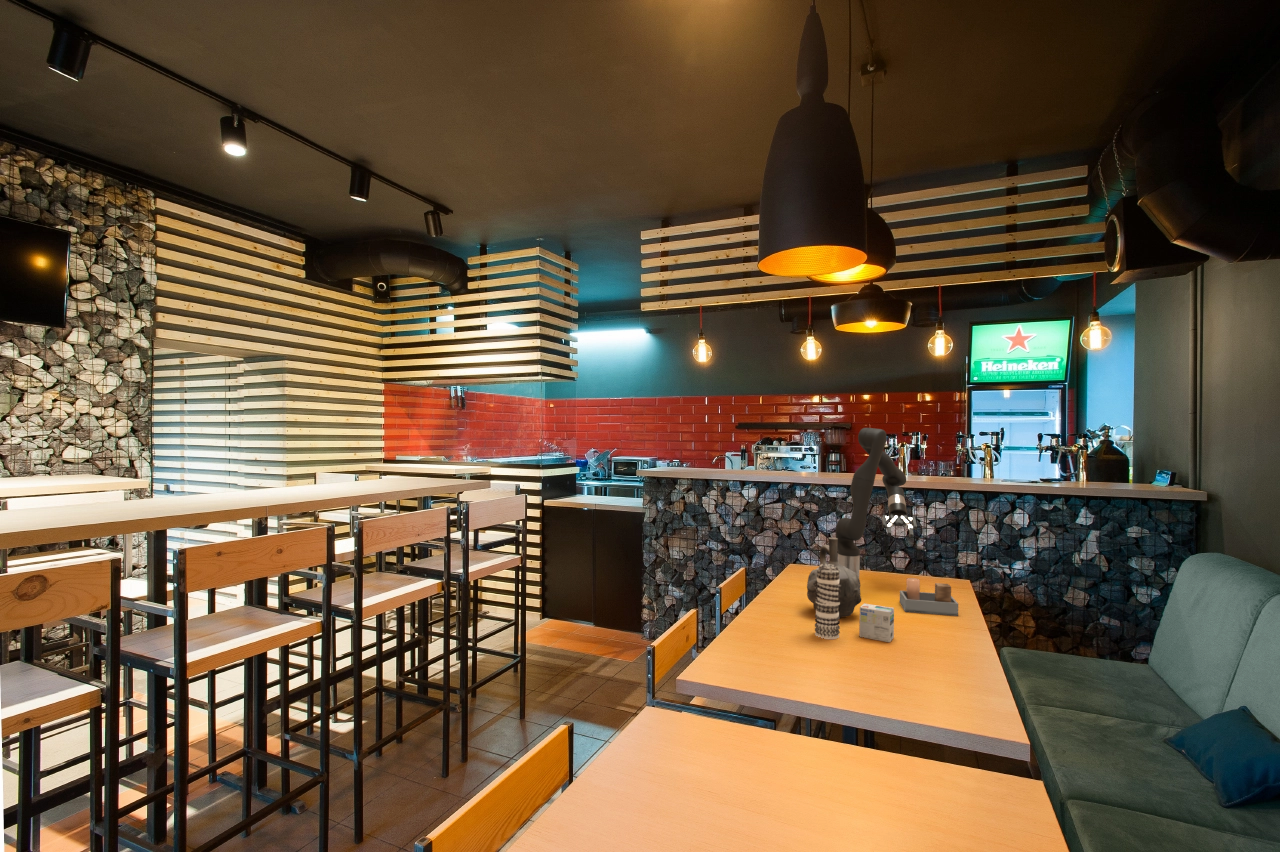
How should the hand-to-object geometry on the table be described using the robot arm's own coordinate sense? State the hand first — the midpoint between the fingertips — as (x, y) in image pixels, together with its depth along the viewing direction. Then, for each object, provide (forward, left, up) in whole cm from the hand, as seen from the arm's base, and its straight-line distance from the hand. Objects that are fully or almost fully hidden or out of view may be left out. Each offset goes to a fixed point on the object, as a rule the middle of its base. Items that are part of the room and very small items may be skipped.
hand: (900, 535), depth 286 cm
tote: (+8, -21, -26) cm, 34 cm away
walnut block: (+13, -24, -25) cm, 37 cm away
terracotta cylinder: (+3, -18, -25) cm, 31 cm away
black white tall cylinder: (-34, -67, -26) cm, 80 cm away
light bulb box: (-17, -64, -26) cm, 71 cm away
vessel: (-30, -38, -26) cm, 55 cm away
